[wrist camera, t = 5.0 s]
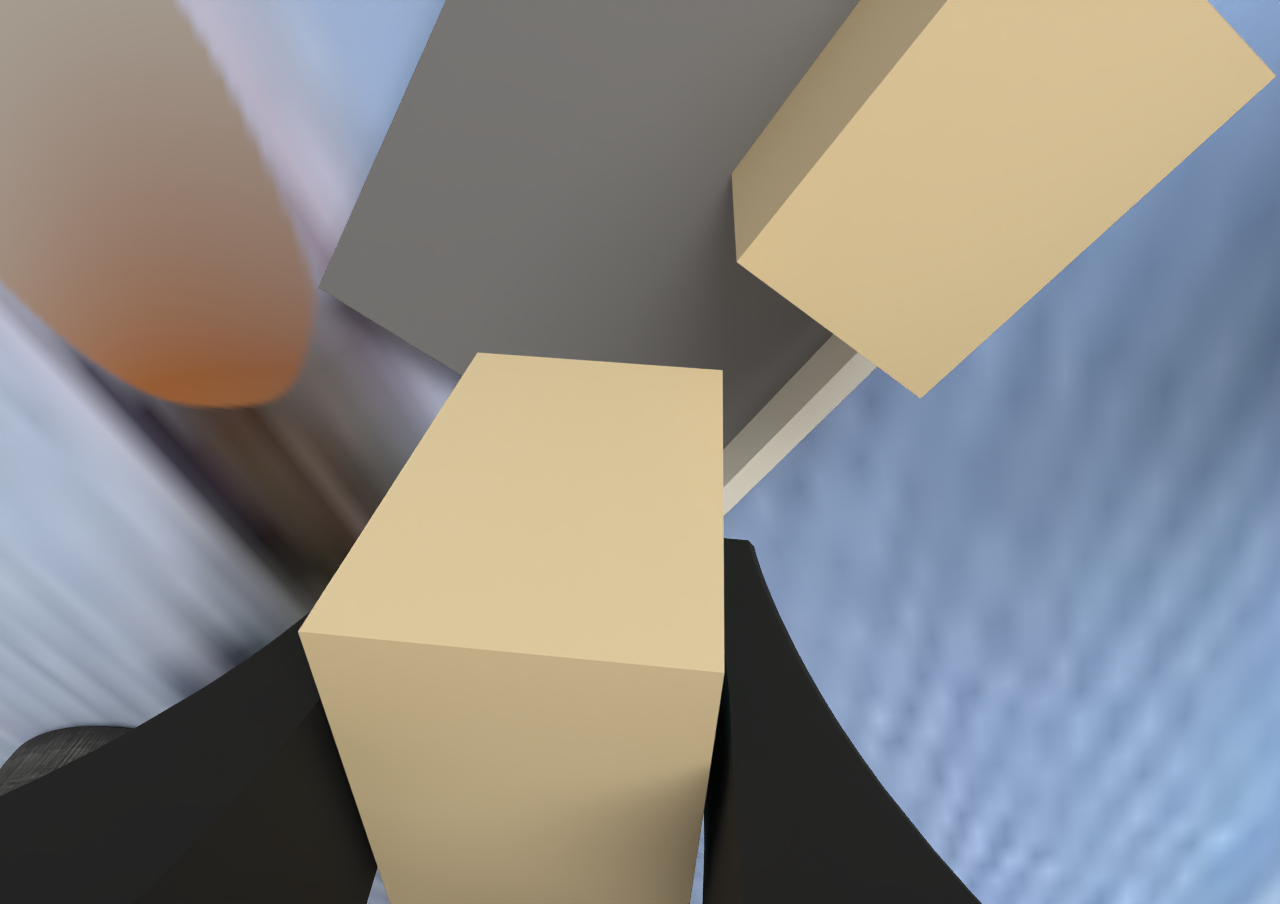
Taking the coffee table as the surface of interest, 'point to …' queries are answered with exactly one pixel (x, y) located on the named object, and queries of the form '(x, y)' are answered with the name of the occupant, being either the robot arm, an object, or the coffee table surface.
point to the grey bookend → (598, 202)
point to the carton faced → (973, 159)
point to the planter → (53, 753)
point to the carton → (537, 639)
